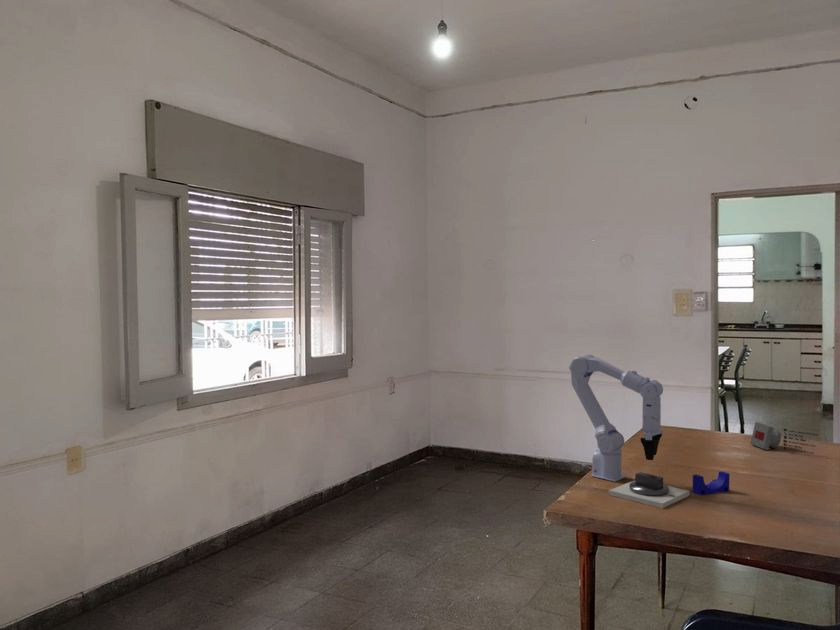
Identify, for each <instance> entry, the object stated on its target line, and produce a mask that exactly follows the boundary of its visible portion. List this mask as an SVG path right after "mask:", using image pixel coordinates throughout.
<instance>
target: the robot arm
mask: <svg viewBox="0 0 840 630" xmlns="http://www.w3.org/2000/svg"><path fill="white" fill-rule="evenodd" d="M568 369H569V371H570V380H571V386H572V388H573V390H574V392H575V393H576V395H577V397H578V399H579V400H580V403H581V405H582V406H583V408H584V410H585V412H586V414H587V416H588V418H589V419H590V422H591V424H592V425H593V427H594V429H595V432H594V437H595V439H596V442H597V443H596V444H597V448H598V450H595V451H594V453H593V454H592V470H591V471H592V473H591V475H590V477H593V478H598V479H602V480H606V481H610V482H618V481H621V480H622V479H626V478H627V475H624V474H622V452H623V451H622V447H623V446H624V445H625V438H624V436H623V434H622V433H621V432H619V431H618V430H617V428H616V426H614V425H613V424H612V423H611V422H610V421H609V419H608V417H607V416H606V414H605V412H604V410H603V409H602V406H601V404H600V403H599V401H598V400H597V398H596V395H595V393H594V392H593V390H592V388H591V386H590V385H589V384H590V383H589V381H590V378H591V376H592V375H593V374H594V373H595V372H600V373H603V374H605V375H607V376H609V377H611V378H613V379H617V380H619V381H620V382H621V385H622V386H623V387H625V388H627V389H629V390H632V391H633V392H636V393H637V394H640V396H641V397H642V428H641V433H643V436H644V437H640V438H639V439H640V442H641V444H642V447H643V451H644V456H645V459H646V461H647V460H648V461H653V460H654V458H655V456H656V455H657V452H658V448H659V444H660V441H661V438H662V436H663V435H664V434H665V430H663V429H662V428H661V424H662V423H661V416H662V415H661V414H662V411H661V410H662V409H661V408H662V407H661V406H662V403H661V396H662V394H663V392H664V387H663V385H662V384H661V383H660V381H658V380H657V379H651V378H650V377H647V376H646V377H645V376H643V375H641V374H638V371H636V370H627V371H624V370H622V369H620V368H619V367H616V366H614V365H613V364H611V363H609V362H608V361H605V360H603V359H601V358H600V357H597V356H594V355H592V354H586V355H581V356H580V355H579V356H574V358H573V359H571V362H570V365H569V367H568Z"/></svg>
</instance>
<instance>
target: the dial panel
mask: <svg viewBox="0 0 840 630" xmlns="http://www.w3.org/2000/svg"><path fill="white" fill-rule="evenodd" d="M632 482H635V479H634V480H631V481H629V482H627V483H623V484H622V485H619V486H616V487H614V488H611V489H608V495H609V496H612V497H615V498H620V499H624V500H627V501H632V502H636V503H639V504H644V505H647V506H652V507H655V508H660V509H664V508H667V507H668V506H670V505H673V504H675V503H677V502H680V501H681V500H683V499H685V498H687V497H689V496H690V490H688V489H682V488H678V487H673V486H669V485H667V486H668V487H669V493H668V494H665V495H657V496H655V495H644V494H639V493H636V492H633V491H631V490H630V489H629V485H630V483H632Z"/></svg>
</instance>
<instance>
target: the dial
mask: <svg viewBox="0 0 840 630" xmlns="http://www.w3.org/2000/svg"><path fill="white" fill-rule="evenodd" d="M634 475H635V479H634V480H635V482H632V483H630V485H629V489H630V490H631V491H633V492H636V493H639V494H644V495H655V496H657V495H665V494H668V493H669V487H668V486H669V485H666V484H664V477H663V476H662V477H661V476H658V475H653V474H650V473H646V472H641V471H640V472H637V473H635V474H634Z"/></svg>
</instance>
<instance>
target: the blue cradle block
mask: <svg viewBox="0 0 840 630" xmlns="http://www.w3.org/2000/svg"><path fill="white" fill-rule="evenodd" d="M728 491H729V492H730V473H728V472H725V471H718V476H717V478H716V479H712V480H711V481H710V482H709V483H707V484H706V483H705V479H704V476H702V475H700V474H696V473H695V474H692V494H695V495H698V496H705V495H712V494H720V493H726V492H727V493H729V492H728Z"/></svg>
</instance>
